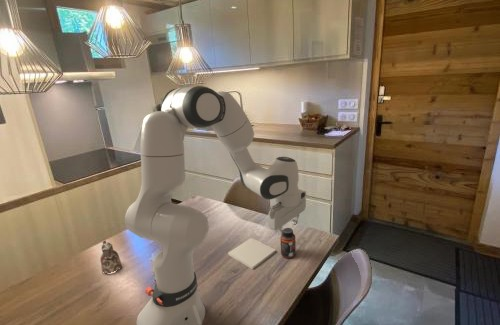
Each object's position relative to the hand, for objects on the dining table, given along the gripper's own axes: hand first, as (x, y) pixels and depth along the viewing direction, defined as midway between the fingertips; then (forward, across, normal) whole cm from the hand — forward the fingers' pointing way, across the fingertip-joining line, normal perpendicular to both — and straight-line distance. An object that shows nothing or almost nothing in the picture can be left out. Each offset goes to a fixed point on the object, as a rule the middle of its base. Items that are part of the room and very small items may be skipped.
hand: (287, 228), depth 110 cm
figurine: (+11, -52, +49) cm, 73 cm away
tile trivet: (+12, -10, +12) cm, 19 cm away
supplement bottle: (+12, -1, 0) cm, 12 cm away
